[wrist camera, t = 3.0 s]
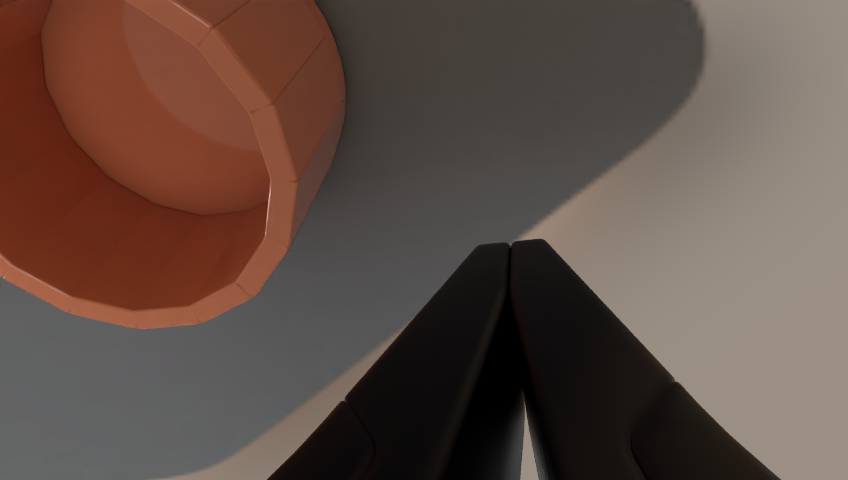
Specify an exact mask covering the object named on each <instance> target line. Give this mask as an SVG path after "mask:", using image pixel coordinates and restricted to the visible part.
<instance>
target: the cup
mask: <svg viewBox="0 0 848 480" xmlns="http://www.w3.org/2000/svg"><path fill="white" fill-rule="evenodd" d="M345 107H346V91H345V78H344V73H343V67H342V62H341V58H340V55H339V52H338V48H337V45H336V42H335V39H334V37H333V35H332V33H331V30H330V28H329V26H328V24H327V22H326V19H325V18H324V16H323V14H322V13H321V11H320V9H319V8H318V6H317V4H316V3H315V1H314V0H0V276H1V277H3V279H4V280H6V281H8V282H10V283H12V284H14V285H16V286H18V287H19V288H21V289H23V290H25V291H27V292H29V293H31V294H33V295H34V296H36V297H38V298H40V299H42V300H44V301H46V302H48V303H49V304H51V305H53V306H55V307H57V308H59V309H61V310H63V311H64V312H66V313H71V314H73V315H77V316H81V317H86V318H90V319H94V320H99V321H103V322H107V323H112V324H116V325H120V326H125V327H129V328H133V329H137V328H138V329H150V328H163V327H175V326H187V325H199V324H201V323H205V322H207V321H209V320H211V319H213V318H215V317H217V316H219V315H221V314H223V313H225V312H226V311H228V310H230V309H232V308H234V307H236V306H238V305H240V304H242V303H244V302H246V301H248V300H250V299H252V298H254V297H255V296H256V295H257V294H258V293H259V291H260V290H261V289H262V287H263V286H264V284H265V283H266V281H267V280H268V279H269V277H270V276H271V274H272V273H273V272H274V270H275V269H276V267H277V266H278V265H279V263H280V262H281V260H282V259H283V258H284V256H285V255H286V253H287V252H288V251H289V249H290V247H291V245H292V243H293V241H294V239H295V237H296V235H297V233H298V231H299V229H300V227H301V225H302V223H303V221H304V219H305V217H306V214H307V212H308V210H309V208H310V206H311V204H312V202H313V200H314V198H315V196H316V194H317V192H318V190H319V188H320V186H321V184H322V182H323V180H324V178H325V176H326V174H327V172H328V170H329V168H330V166H331V164H332V162H333V159H334V156H335V150H336V147H337V145H338V142H339V140H340V137H341V132H342V128H343V124H344V118H345Z"/></svg>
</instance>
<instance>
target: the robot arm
mask: <svg viewBox="0 0 848 480" xmlns="http://www.w3.org/2000/svg"><path fill="white" fill-rule="evenodd" d="M525 405H526V412H527V419H528V425H529V431H530V436H531V441H532V446H533V452H534V457H535V462H536V467H537V472H538V477H539V480H781V479H779V477H777V476H776V475H775V474H774V473H773V472H771V471H770V470H769V469H768V468H767V467H766V466H765V465H763V464H762V463H761V462H760V461H759V460H758V459H757V458H755V457H754V456H753V455H752V454H751V453H750V452H748V451H747V450H746V449H745V448H744V447H743V446H742V445H741V444H740V443H738V442H737V441H736V440H735V439H734V438H733V437H732V436H730V435H729V434H728V433H727V432H726V431H725V430H724V429H723V428H722V427H721V426H720V425H719V424H718V423H717V422H716V421H715V420H714V419H713V418H712V417H711V416H710V415H709V414H708V413H707V412H706V411H705V410H704V409H703V408H702V407H701V406H700V405H699V404H698V403H697V402H696V401H695V400H694V399H693V397H692V396H691V395H690V394H689V393H688V392H687V391H686V390H685V389H684V388H683V387H682V385H681V384H679V383H678V382H675V379H674V377H672V375H671V374H670V373H669V372H668V371H667V370H666V369H665V368H664V367H663V366H662V365H661V364H660V362H659V361H658V360H657V359H656V358H655V357H654V356H653V355H652V354H651V353H650V352H649V351H648V350H647V349H646V348H645V346H644V345H643V344H642V343H641V342H640V341H639V340H638V339H637V338H636V337H635V336H634V335H633V334H632V333H631V332H630V331H629V329H628V328H627V327H626V326H625V325H624V324H623V323H622V322H621V321H620V320H619V319H618V318H617V317H616V316H615V314H614V313H613V312H612V311H611V310H610V309H609V308H608V307H607V306H606V305H605V304H604V303H603V302H602V301H601V300H600V299H599V297H598V296H597V295H596V294H595V293H594V292H593V291H592V290H591V289H590V288H589V287H588V286H587V285H586V284H585V282H584V281H583V280H582V279H581V278H580V277H579V276H578V275H577V274H576V273H575V272H574V271H573V270H572V269H571V268H570V266H569V265H568V264H567V263H566V262H565V261H564V260H563V259H562V258H561V257H560V256H559V255H558V254H557V253H556V251H555V250H554V249H553V248H552V247H551V246H550V245H549V244H548V243H547V242H546V241H545V240H543V239H533V240H523V241H516V242H514V243H512V245H511V246H510V245H509V244H508V243H505V242H503V243H492V244H482V245H479V246H477V247H476V248H475V249H474V250H473V251H472V252H471V253H470V255H469V256H468V257H467V258H466V259H465V260H464V261H463V263H462V264H461V265H460V266H459V267H458V268H457V269H456V271H455V272H454V273H453V274H452V275H451V276H450V277H449V279H448V280H447V281H446V282H445V283H444V284H443V285H442V287H441V288H440V289H439V290H438V291H437V292H436V293H435V295H434V296H433V297H432V298H431V299H430V300H429V302H428V303H427V304H426V305H425V306H424V307H423V308H422V310H421V311H420V312H419V313H418V314H417V315H416V316H415V318H414V319H413V320H412V321H411V322H410V323H409V324H408V326H407V327H406V328H405V329H404V330H403V331H402V332H401V334H400V335H399V336H398V337H397V338H396V339H395V340H394V342H393V343H392V344H391V345H390V346H389V347H388V348H387V350H386V351H385V352H384V353H383V354H382V355H381V356H380V358H379V359H378V360H377V361H376V362H375V363H374V364H373V366H372V367H371V368H370V369H369V370H368V371H367V373H366V374H365V375H364V376H363V377H362V378H361V379H360V380H359V382H358V383H357V384H356V385H355V386H354V387H353V388H352V390H351V391H350V392H349V393H348V394H347V395H346V397H345V401H341V402H340V403H339V404H338V405H337V406H336V408H335V409H334V410H333V411H332V412H331V413H330V414H329V415H328V417H327V418H326V419H325V420H324V421H323V422H322V424H320V426H319V427H318V428H317V429H316V430H315V431H314V432H313V433H312V434H311V435H310V436H309V437H308V439H307V440H306V441H305V442H304V443H303V444H302V445H301V446H300V447H299V448H298V449H297V451H295V453H294V454H293V455H292V456H291V457H290V458H289V459H287V460H286V461H285V463H283V464H282V465H281V466H280V467H279V468H278V469H277V470H276V471H275V472H274V473H273V474H272V475H271V476H270V477H269V478H268V479H267V480H520V474H521V461H522V449H523V437H524V420H525Z"/></svg>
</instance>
